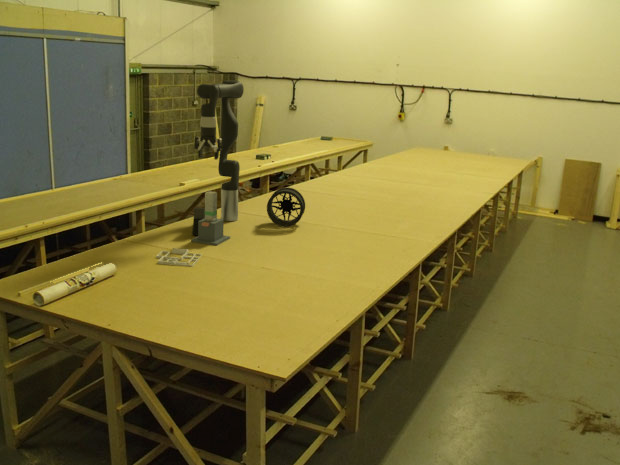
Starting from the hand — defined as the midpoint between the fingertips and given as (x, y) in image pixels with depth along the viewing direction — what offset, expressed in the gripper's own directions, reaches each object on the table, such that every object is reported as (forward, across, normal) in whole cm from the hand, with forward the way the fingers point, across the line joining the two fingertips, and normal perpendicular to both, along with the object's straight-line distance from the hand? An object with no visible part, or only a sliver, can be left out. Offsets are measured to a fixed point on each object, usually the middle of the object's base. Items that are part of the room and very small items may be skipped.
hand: (208, 158), depth 305 cm
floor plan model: (+39, -6, +44) cm, 59 cm away
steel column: (+30, -8, +12) cm, 33 cm away
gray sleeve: (+38, -8, +12) cm, 41 cm away
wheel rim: (+38, -30, -33) cm, 58 cm away
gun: (+39, +5, -5) cm, 39 cm away
